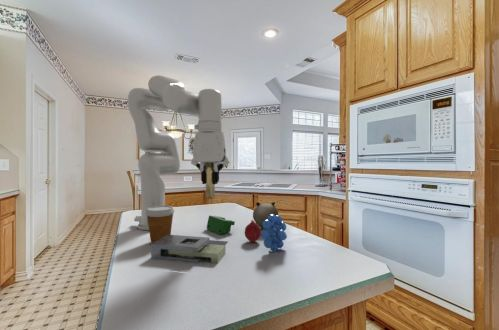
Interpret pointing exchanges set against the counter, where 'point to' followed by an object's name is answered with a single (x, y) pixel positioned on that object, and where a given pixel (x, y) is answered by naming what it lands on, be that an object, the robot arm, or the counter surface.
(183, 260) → the clevis
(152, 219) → the disposable coffee cup
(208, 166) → the pin
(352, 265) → the counter surface
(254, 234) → the onion
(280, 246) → the grapes
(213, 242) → the mat
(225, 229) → the green angular piece
